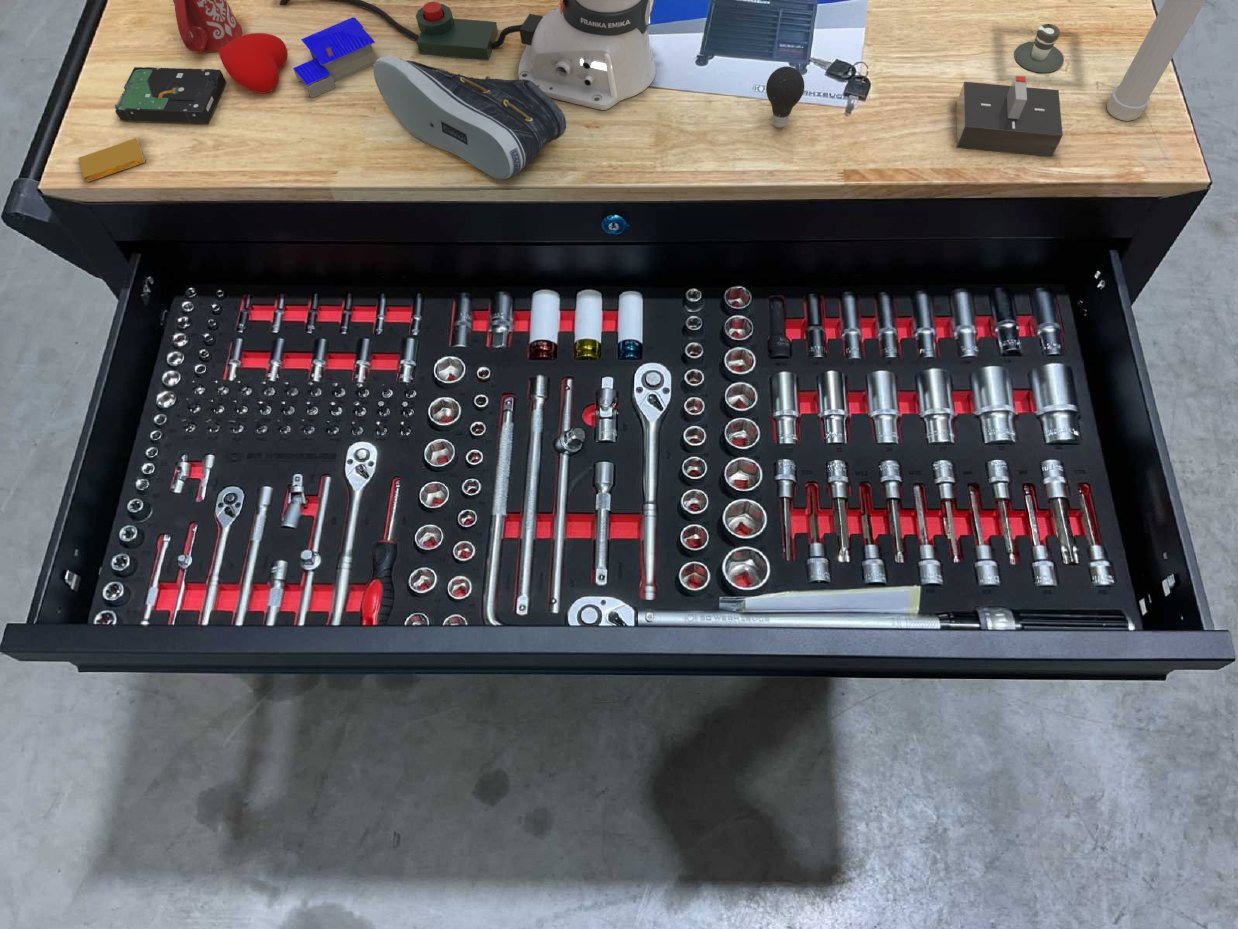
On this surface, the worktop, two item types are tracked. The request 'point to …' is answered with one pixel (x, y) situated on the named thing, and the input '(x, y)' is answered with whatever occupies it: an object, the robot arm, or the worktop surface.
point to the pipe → (1153, 58)
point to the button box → (455, 36)
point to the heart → (255, 60)
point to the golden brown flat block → (111, 160)
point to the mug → (206, 24)
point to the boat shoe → (471, 114)
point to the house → (335, 55)
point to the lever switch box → (1008, 120)
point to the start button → (433, 11)
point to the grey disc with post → (1041, 51)
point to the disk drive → (170, 95)
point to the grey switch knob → (1016, 97)
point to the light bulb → (784, 93)
